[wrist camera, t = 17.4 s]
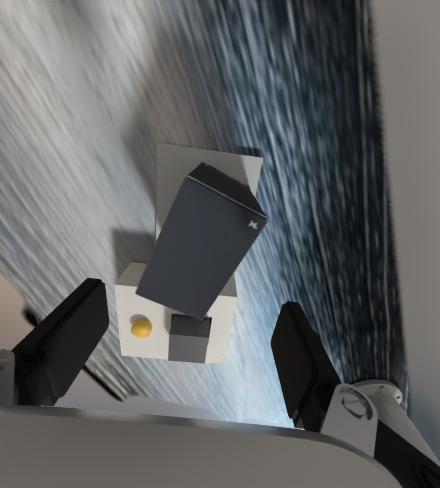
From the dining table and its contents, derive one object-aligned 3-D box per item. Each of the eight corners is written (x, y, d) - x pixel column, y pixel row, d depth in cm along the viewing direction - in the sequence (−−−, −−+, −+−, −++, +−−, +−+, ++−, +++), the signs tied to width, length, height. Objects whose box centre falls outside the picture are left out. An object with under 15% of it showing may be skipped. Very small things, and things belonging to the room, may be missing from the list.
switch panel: (222, 334, 34) (222, 369, 29) (134, 326, 33) (119, 361, 28) (234, 273, 29) (237, 301, 24) (131, 261, 28) (111, 289, 23)
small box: (198, 157, 22) (183, 168, 12) (252, 187, 23) (275, 217, 14) (162, 240, 26) (129, 296, 16) (209, 261, 27) (204, 324, 18)
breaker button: (207, 324, 30) (204, 363, 25) (176, 321, 30) (167, 360, 25) (210, 301, 29) (208, 337, 23) (178, 297, 28) (169, 334, 23)
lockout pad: (239, 267, 28) (239, 270, 28) (157, 258, 28) (156, 261, 27) (261, 157, 22) (263, 157, 22) (158, 142, 22) (156, 142, 21)
